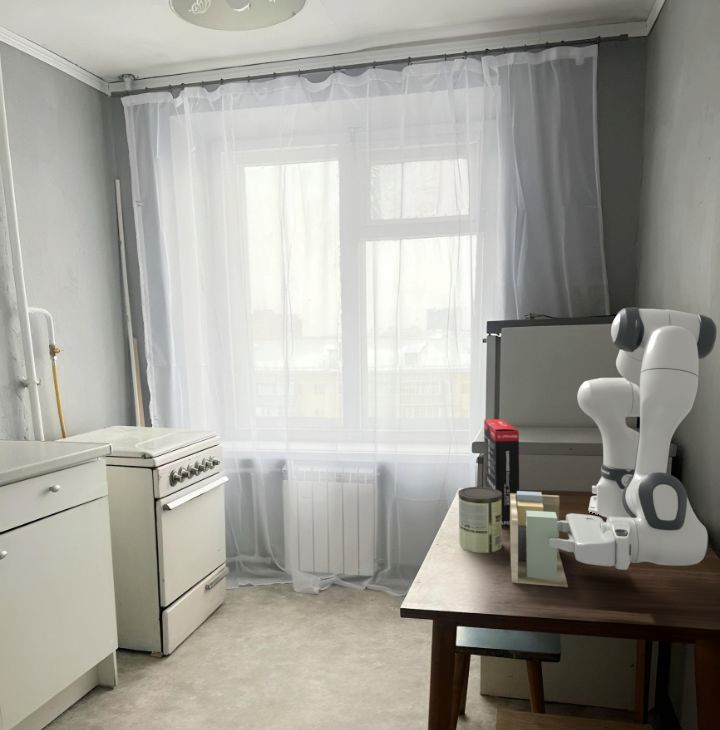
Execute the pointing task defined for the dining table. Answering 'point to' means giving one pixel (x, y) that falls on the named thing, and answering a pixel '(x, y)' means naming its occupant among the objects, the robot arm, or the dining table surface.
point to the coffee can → (480, 519)
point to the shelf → (517, 567)
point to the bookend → (521, 543)
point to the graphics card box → (502, 461)
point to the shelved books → (527, 504)
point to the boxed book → (541, 545)
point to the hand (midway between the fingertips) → (547, 534)
